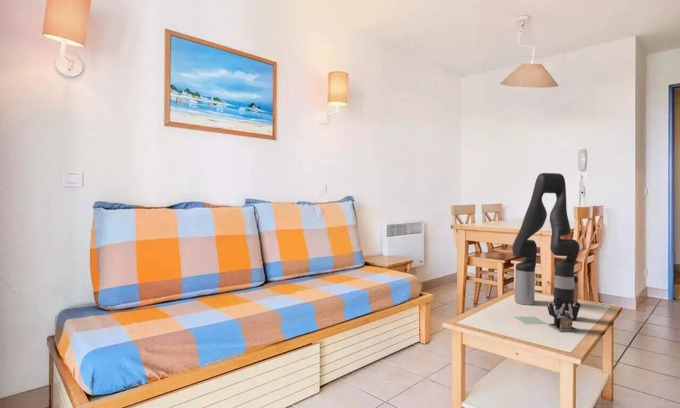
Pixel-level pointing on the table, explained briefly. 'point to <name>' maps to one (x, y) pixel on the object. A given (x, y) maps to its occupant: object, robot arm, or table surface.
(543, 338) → the table surface
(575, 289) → the travel mug
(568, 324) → the letter cube
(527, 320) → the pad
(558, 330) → the tray
